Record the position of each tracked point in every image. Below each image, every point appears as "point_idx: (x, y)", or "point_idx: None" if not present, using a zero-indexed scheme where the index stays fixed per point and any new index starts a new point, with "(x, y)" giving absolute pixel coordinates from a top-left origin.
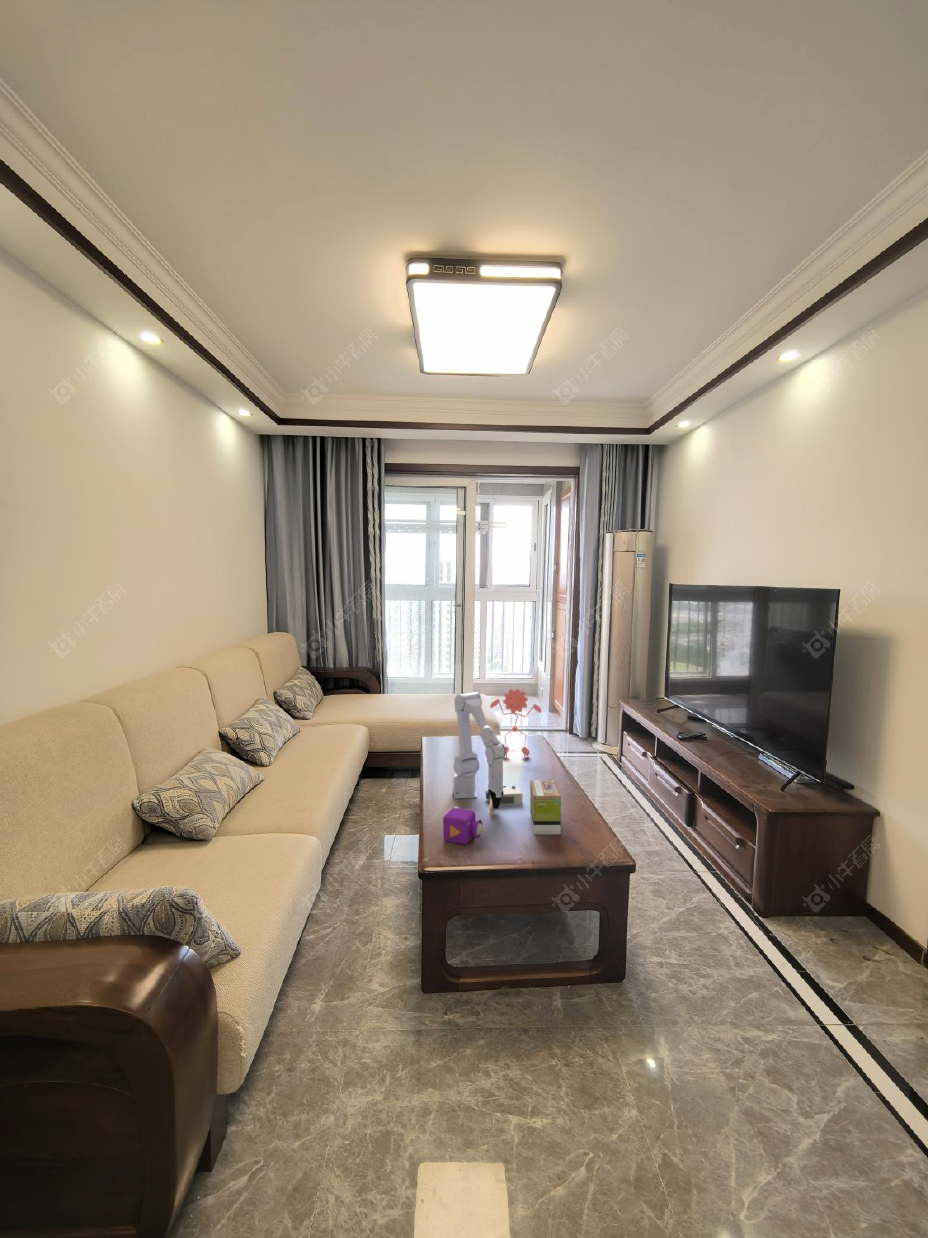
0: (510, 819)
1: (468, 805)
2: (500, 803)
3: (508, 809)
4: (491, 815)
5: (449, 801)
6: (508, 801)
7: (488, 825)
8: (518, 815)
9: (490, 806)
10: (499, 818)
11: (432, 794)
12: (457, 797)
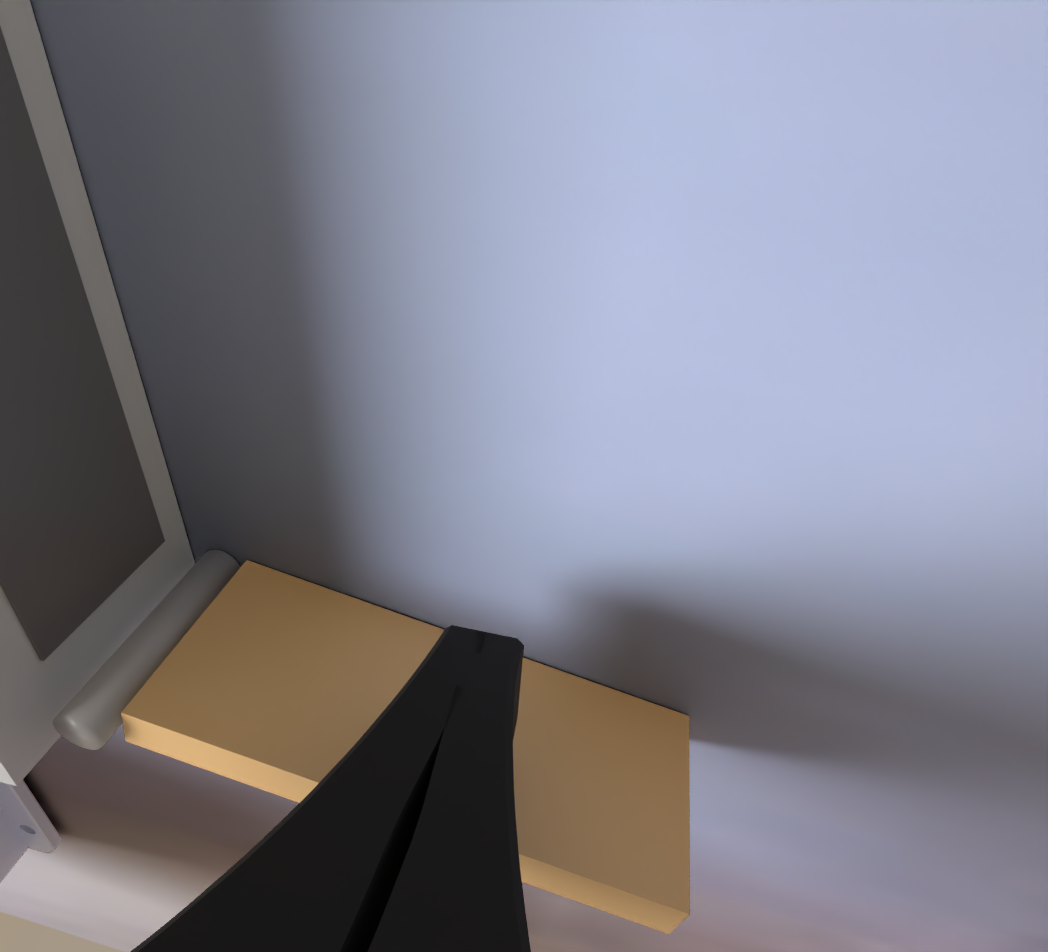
0: (1019, 436)
1: (224, 800)
2: (120, 429)
3: (371, 286)
4: (687, 746)
5: (142, 882)
6: (3, 222)
7: (1010, 856)
8: (880, 80)
9: (588, 900)
10: (816, 631)
11: (16, 911)
12: (42, 839)
